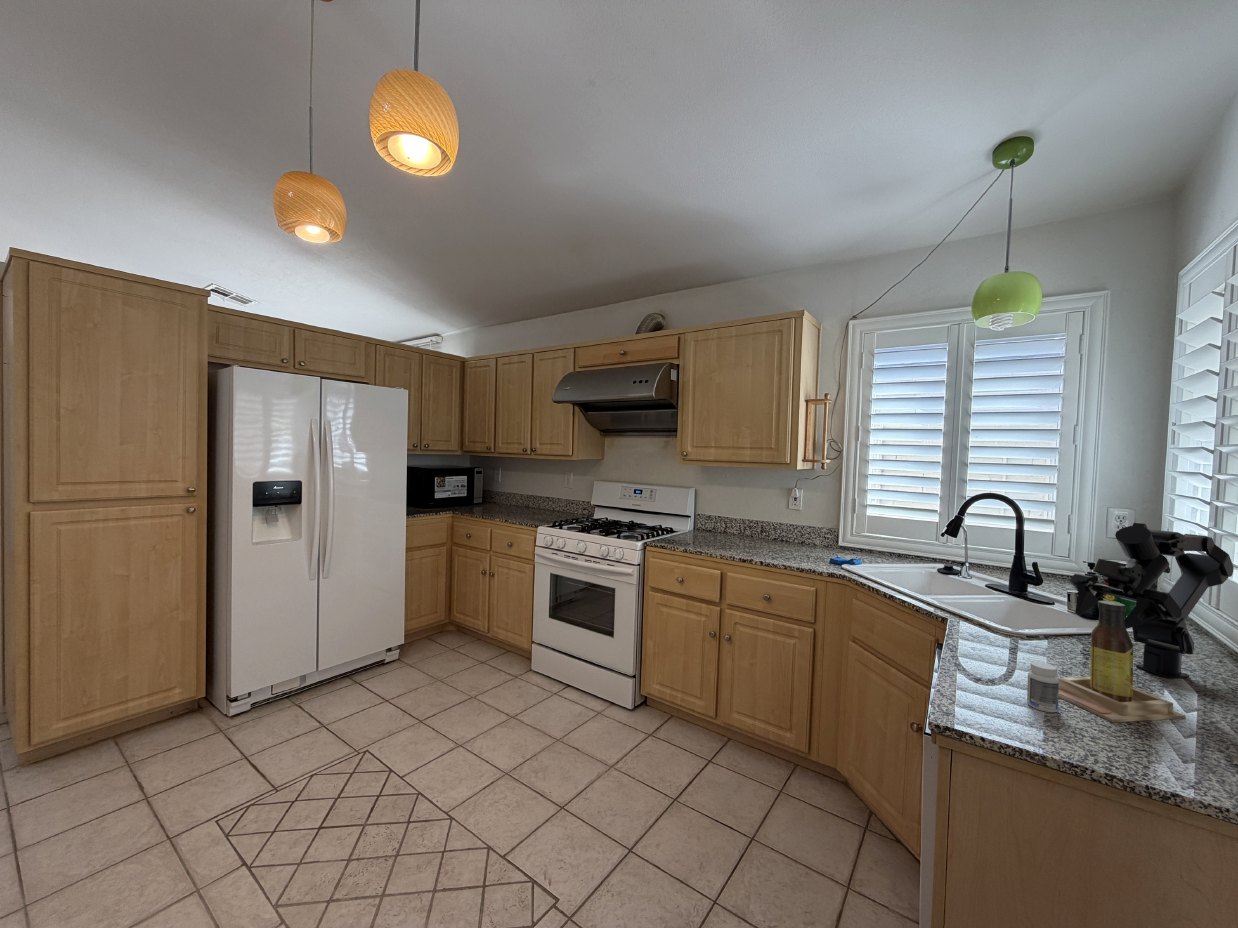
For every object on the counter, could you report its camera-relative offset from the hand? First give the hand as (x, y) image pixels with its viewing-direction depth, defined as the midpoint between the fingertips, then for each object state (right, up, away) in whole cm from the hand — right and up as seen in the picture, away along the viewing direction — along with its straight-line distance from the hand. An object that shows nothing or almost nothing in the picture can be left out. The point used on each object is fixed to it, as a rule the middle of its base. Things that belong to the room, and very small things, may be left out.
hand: (1099, 620), depth 110 cm
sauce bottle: (-8, -13, -10) cm, 18 cm away
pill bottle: (-25, -13, -14) cm, 32 cm away
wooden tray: (-8, -13, -11) cm, 19 cm away
